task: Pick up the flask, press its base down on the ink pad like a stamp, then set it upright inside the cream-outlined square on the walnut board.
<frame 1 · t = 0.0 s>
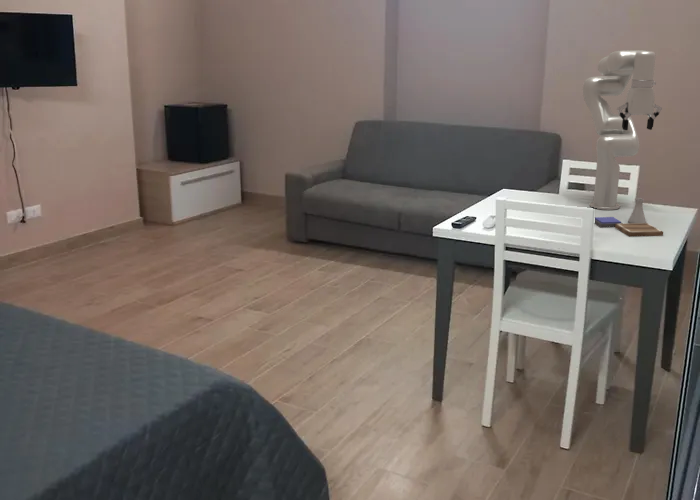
hand: (637, 129, 279), 37 cm above the table, tool pointing down, fingers open, 9 cm apart
flask: (636, 223, 286), on the table
marked board: (638, 231, 274), on the table
ink pad: (607, 224, 285), on the table
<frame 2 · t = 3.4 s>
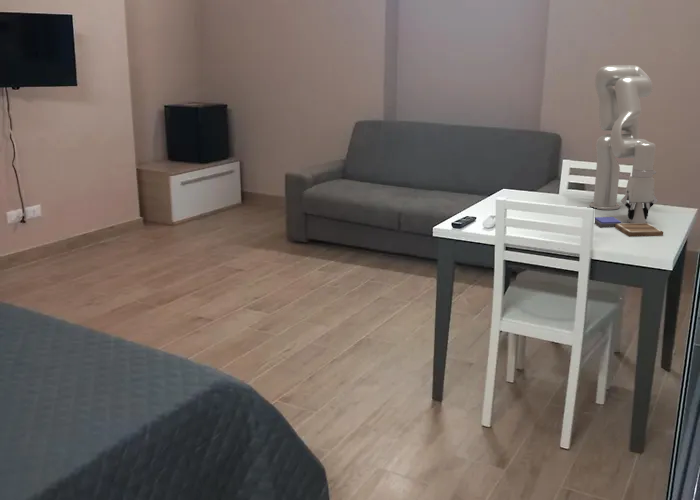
hand: (637, 218, 286), 2 cm above the table, tool pointing down, fingers closed on flask, 4 cm apart
flask: (636, 223, 286), on the table, touching gripper
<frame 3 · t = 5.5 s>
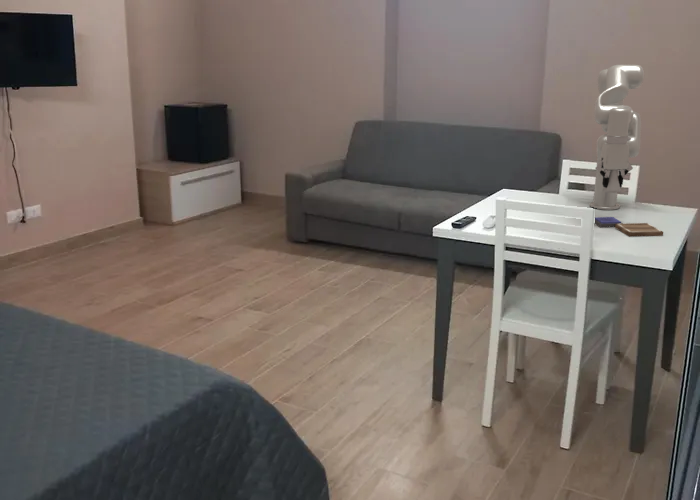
hand: (612, 186, 280), 15 cm above the table, tool pointing down, fingers closed on flask, 4 cm apart
flask: (611, 191, 281), point 13 cm above the table, touching gripper
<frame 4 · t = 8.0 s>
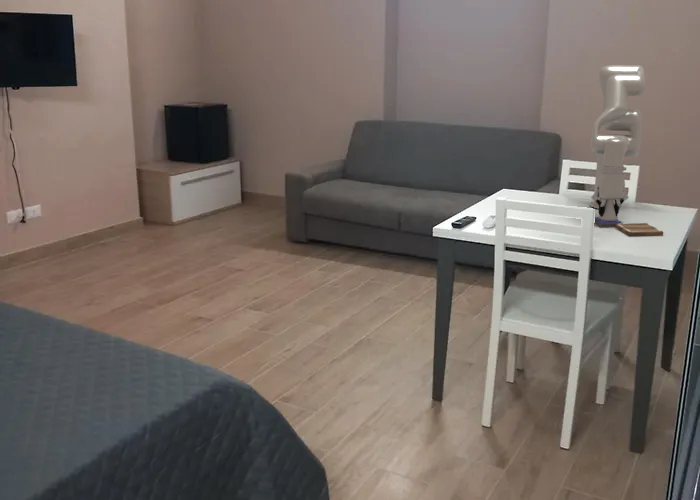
hand: (608, 215, 284), 4 cm above the table, tool pointing down, fingers closed on flask, 4 cm apart
flask: (607, 220, 284), point 2 cm above the table, touching gripper, ink pad
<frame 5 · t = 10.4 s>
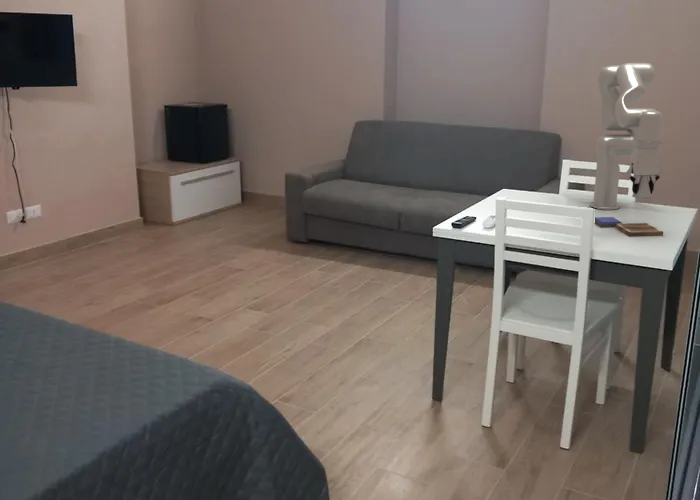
hand: (642, 192, 270), 15 cm above the table, tool pointing down, fingers closed on flask, 4 cm apart
flask: (641, 197, 270), point 13 cm above the table, touching gripper
when the fingers open (4 cm above the table, at t = 12.8 s): flask stays where it is, resting on marked board.
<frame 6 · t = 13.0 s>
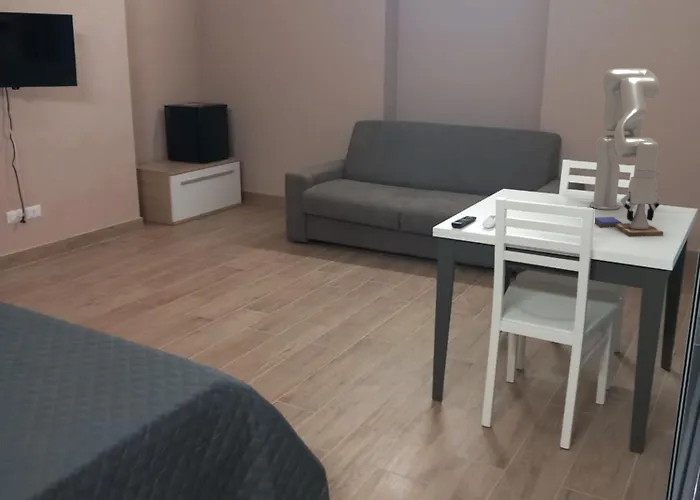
hand: (639, 219, 273), 5 cm above the table, tool pointing down, fingers open, 7 cm apart
flask: (638, 228, 274), point 1 cm above the table, touching marked board
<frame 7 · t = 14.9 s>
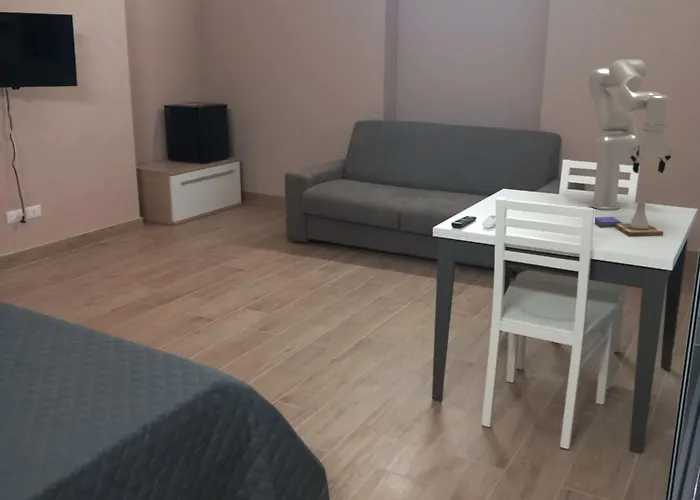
hand: (648, 172, 276), 21 cm above the table, tool pointing down, fingers open, 9 cm apart
nothing on the table moved.
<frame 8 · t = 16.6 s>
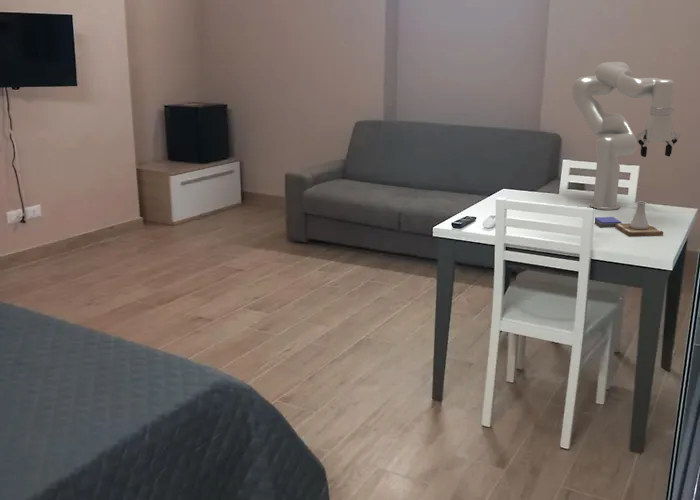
hand: (655, 156, 282), 26 cm above the table, tool pointing down, fingers open, 9 cm apart
nothing on the table moved.
at the end: flask 0.1 cm off-centre on the marked board, point 1.3 cm above the marked board's base; flask tilted 0°; the gripper is holding nothing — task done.
